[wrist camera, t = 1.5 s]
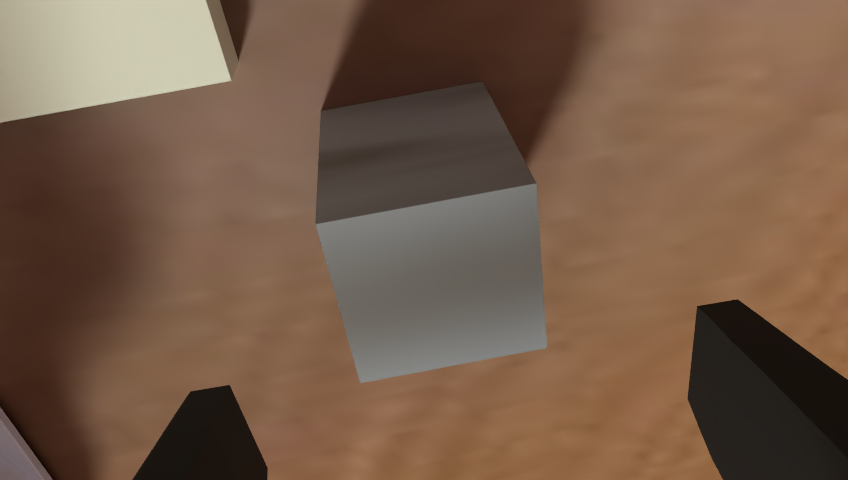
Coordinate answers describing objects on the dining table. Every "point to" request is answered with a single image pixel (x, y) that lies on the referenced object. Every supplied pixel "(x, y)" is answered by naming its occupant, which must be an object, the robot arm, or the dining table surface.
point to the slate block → (429, 232)
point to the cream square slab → (107, 51)
